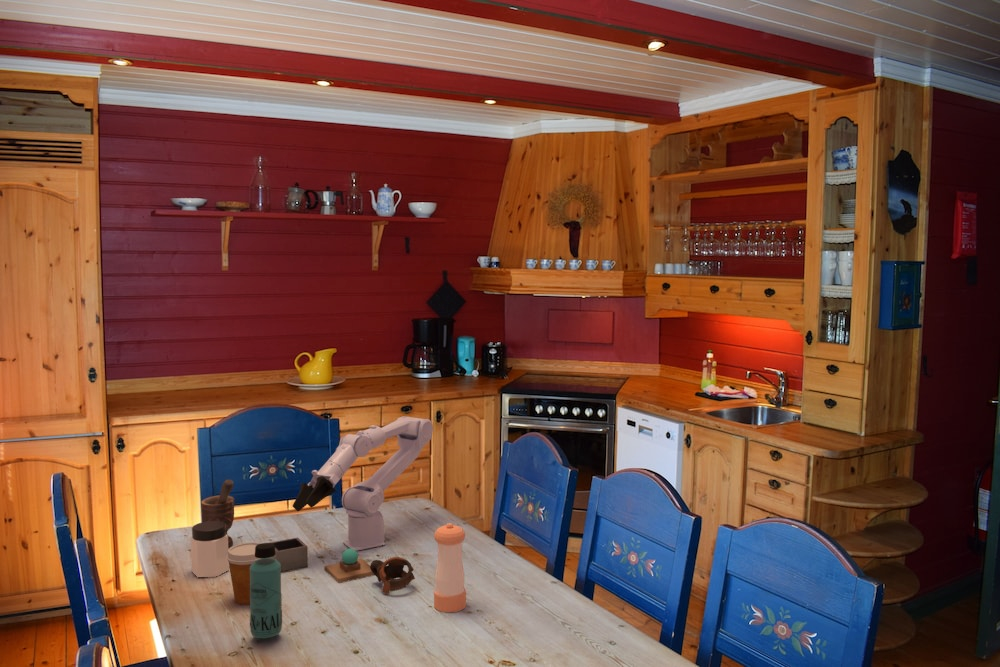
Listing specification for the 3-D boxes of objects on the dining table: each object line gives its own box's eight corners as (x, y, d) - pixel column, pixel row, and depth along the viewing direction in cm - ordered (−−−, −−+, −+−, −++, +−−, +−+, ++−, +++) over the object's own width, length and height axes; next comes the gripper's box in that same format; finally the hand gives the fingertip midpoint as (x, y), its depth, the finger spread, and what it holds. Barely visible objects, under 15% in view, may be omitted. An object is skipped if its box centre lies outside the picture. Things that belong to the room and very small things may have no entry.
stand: (361, 562, 206) (361, 552, 206) (376, 574, 197) (376, 564, 197) (324, 569, 201) (324, 560, 200) (338, 582, 192) (338, 573, 192)
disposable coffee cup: (278, 598, 183) (277, 548, 182) (240, 611, 176) (239, 559, 175) (257, 587, 189) (255, 539, 188) (219, 599, 182) (218, 549, 182)
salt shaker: (441, 615, 174) (441, 530, 173) (429, 602, 181) (428, 521, 179) (471, 608, 178) (471, 525, 176) (458, 596, 184) (457, 516, 183)
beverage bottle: (254, 632, 166) (251, 539, 164) (286, 630, 167) (283, 538, 165) (246, 646, 160) (244, 550, 158) (280, 645, 160) (277, 549, 159)
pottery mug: (420, 582, 194) (421, 560, 189) (402, 612, 187) (403, 590, 182) (378, 564, 197) (377, 543, 192) (358, 593, 190) (358, 571, 185)
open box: (298, 557, 209) (297, 537, 209) (307, 567, 202) (307, 546, 202) (268, 563, 205) (267, 542, 204) (276, 573, 198) (276, 552, 198)
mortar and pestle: (250, 544, 219) (248, 474, 217) (228, 555, 211) (226, 482, 209) (218, 539, 224) (216, 470, 222) (195, 549, 216) (193, 477, 214)
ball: (354, 560, 202) (354, 545, 201) (360, 565, 198) (360, 549, 198) (339, 563, 199) (339, 548, 199) (345, 568, 196) (345, 552, 196)
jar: (233, 573, 198) (231, 526, 197) (200, 581, 193) (198, 533, 192) (220, 563, 205) (219, 518, 204) (188, 570, 200) (186, 524, 199)
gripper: (312, 462, 213) (279, 499, 204) (337, 453, 203) (304, 491, 194) (329, 481, 215) (297, 518, 206) (355, 472, 204) (323, 511, 195)
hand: (301, 506), depth 200 cm, fingers open, 7 cm apart
